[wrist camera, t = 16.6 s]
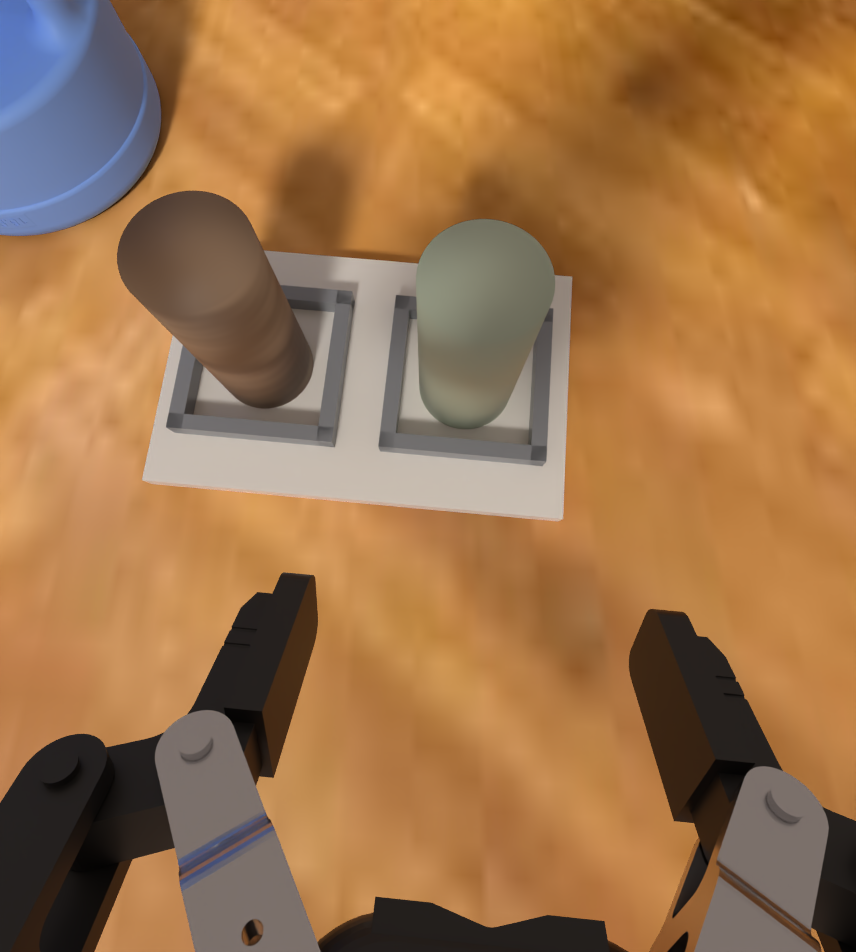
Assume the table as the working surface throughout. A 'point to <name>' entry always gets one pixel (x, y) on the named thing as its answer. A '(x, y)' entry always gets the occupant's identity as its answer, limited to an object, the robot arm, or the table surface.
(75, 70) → the water jug
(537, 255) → the sage column
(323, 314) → the base plate
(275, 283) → the walnut column
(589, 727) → the table surface
